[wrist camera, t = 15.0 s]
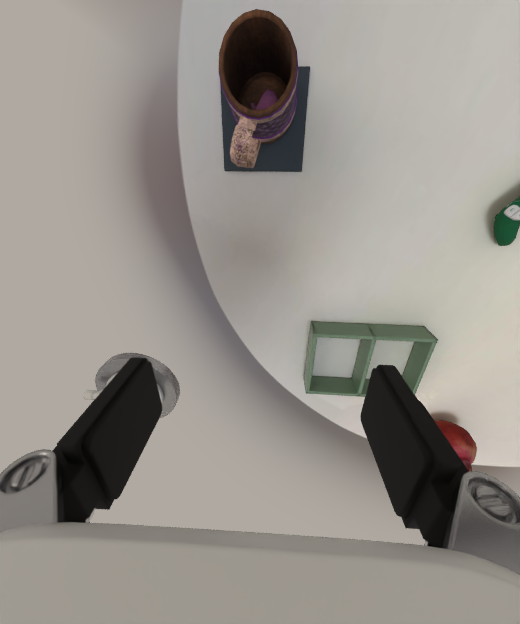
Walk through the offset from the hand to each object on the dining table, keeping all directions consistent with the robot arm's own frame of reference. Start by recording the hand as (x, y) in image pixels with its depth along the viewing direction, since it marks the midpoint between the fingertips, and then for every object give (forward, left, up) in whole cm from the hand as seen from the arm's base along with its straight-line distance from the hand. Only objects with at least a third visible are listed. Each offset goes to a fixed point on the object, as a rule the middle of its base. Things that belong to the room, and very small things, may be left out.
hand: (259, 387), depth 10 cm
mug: (-2, +14, -29) cm, 32 cm away
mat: (-2, +14, -29) cm, 32 cm away
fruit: (+35, -36, -29) cm, 58 cm away
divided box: (+16, -19, -29) cm, 38 cm away
